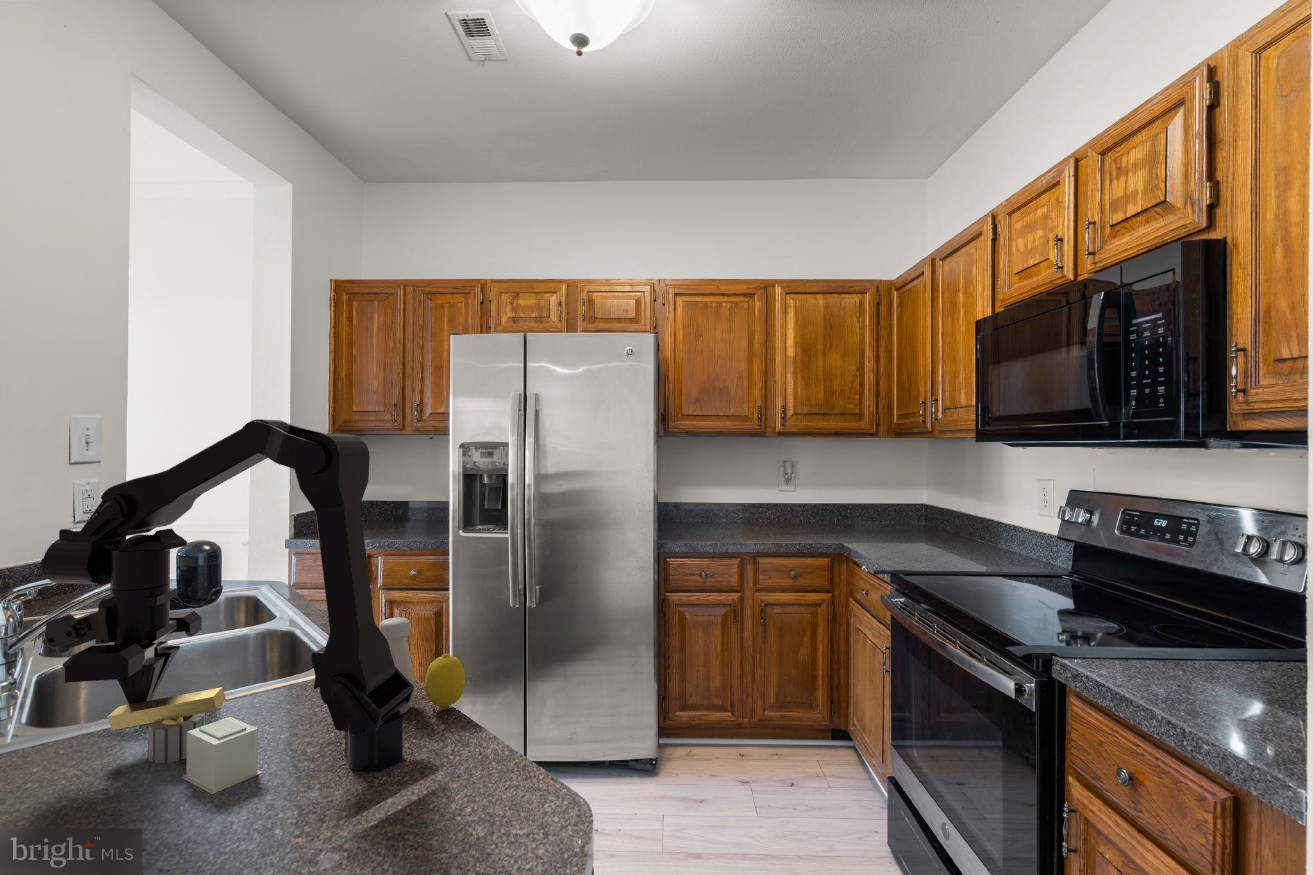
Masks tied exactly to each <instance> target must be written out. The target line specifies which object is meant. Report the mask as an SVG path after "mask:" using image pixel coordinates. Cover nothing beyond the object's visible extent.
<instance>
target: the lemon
mask: <svg viewBox="0 0 1313 875" xmlns="http://www.w3.org/2000/svg"><path fill="white" fill-rule="evenodd" d="M465 688H466V672H465V668H464V666H463V663H462V662H461V660H459V659H458V658H457V657H455V656H453V655H449V653H443V654H442V655H441V656H439V657H437V658H436V659H434V660H433V661H432V662H431V663H430V665H429V666H428V668H427V671H426V674H425V679H424V689H425V693H426V697H427V699H428V700H429V701H430V702H431V703H432V704H433V705H435V706H437V707H440V708H441V709H442V710H443V711H444V710H448V708H450V706H451V705H454V704H455V703H456V702H458V701H459V700H460V698H461V697H462V695H463V694H464V691H465ZM448 704H449V705H450V706H449V705H448Z"/></svg>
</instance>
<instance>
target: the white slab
mask: <svg viewBox="0 0 1313 875" xmlns="http://www.w3.org/2000/svg"><path fill="white" fill-rule="evenodd" d="M205 715H206V712H205V713H199V714H194V715H189V716H184V717H183V720H184V722H181V723H177V724H171V725H164V724H162V723H161V721H157V722H152V723H148V725H147V761H149V762H151V763H154V764H165V763H172V762H179V761H180V759H182V760H185V759H187V731H190V730H193V729H196V728H199V727H202V726H205V725H206V723H205V722H206V721H205V720H206V719H205V718H206V717H205ZM261 774H263V771H262V770H261V771H260V770H259V769H258V773H256V774H254V775H251V776H249V777H247V778H244V779H242V780H240V781H237V782H235V783H233V784H230V785H228V786H226V787H223V788H221V789H219V790H216V791H213V790H211V789H209V788H207V787H205V786H203V785H201V784H200V783H198V782H196V781H194V780H192V779H190V778H189V777H187V776H186V775H183V776H181V778H182V779H184V781H187V782H189V783H191V784H193V785H194V786H197V787H198V788H200V789H201V790H202V791H206V792H207V793H208V794H211V795H214V794H216V793H218V792H220V791H222V790H225V789H227V788H230V787H232V786H234V785H237V784H239V783H242V782H244V781H247V780H249V779H251V778H254V777H255V776H257V775H261Z"/></svg>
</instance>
